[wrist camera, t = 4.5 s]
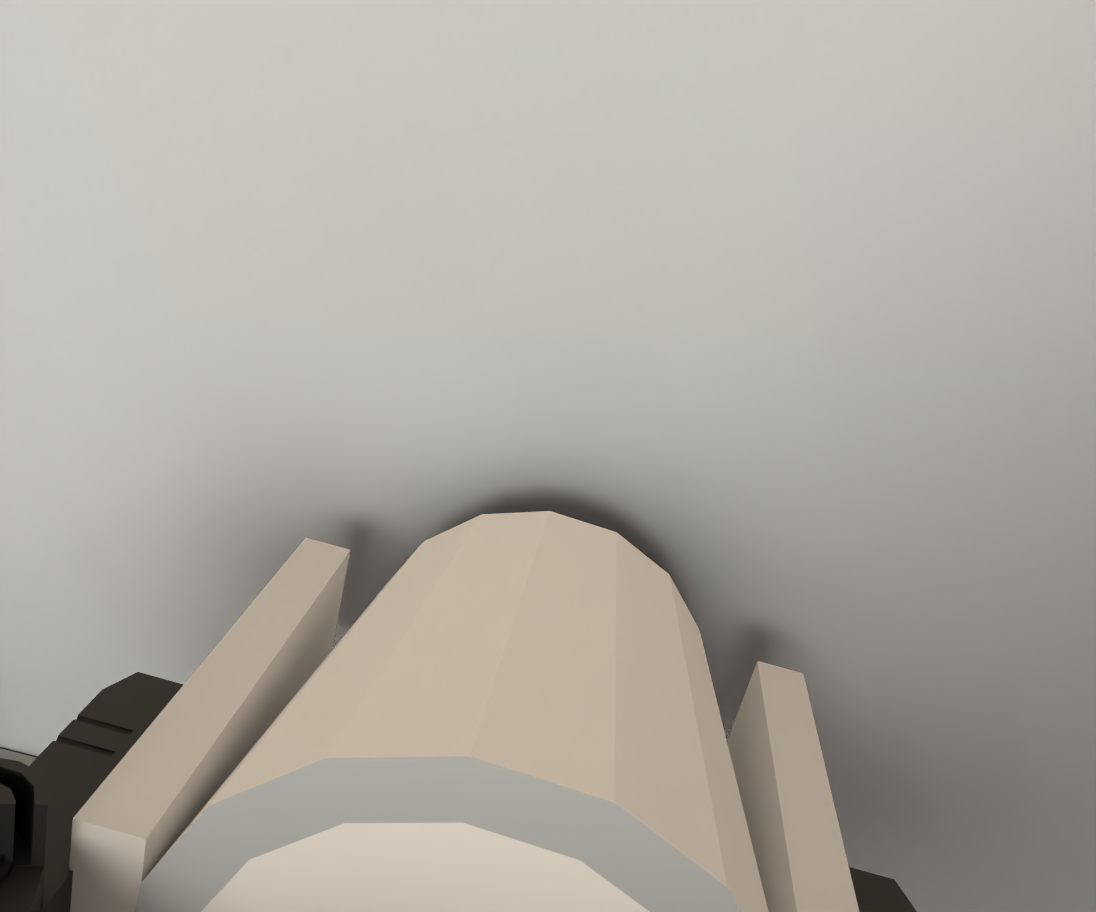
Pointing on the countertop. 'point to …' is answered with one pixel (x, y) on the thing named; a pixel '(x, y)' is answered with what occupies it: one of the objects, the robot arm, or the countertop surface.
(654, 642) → the white cup
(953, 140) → the countertop surface
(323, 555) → the robot arm
